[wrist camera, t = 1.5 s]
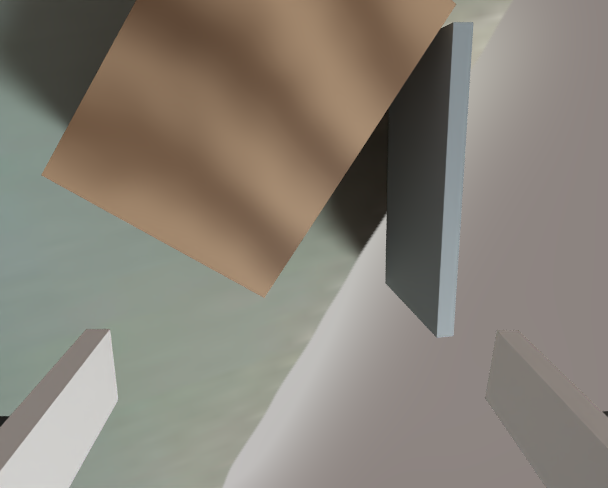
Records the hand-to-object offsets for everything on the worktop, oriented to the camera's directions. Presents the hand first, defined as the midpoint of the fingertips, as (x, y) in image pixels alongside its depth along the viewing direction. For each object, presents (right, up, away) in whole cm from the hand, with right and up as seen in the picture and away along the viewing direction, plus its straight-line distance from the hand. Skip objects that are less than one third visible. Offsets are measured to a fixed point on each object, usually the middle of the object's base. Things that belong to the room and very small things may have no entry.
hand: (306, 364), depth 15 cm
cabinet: (-5, +16, +20) cm, 26 cm away
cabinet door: (+9, +10, +23) cm, 27 cm away
